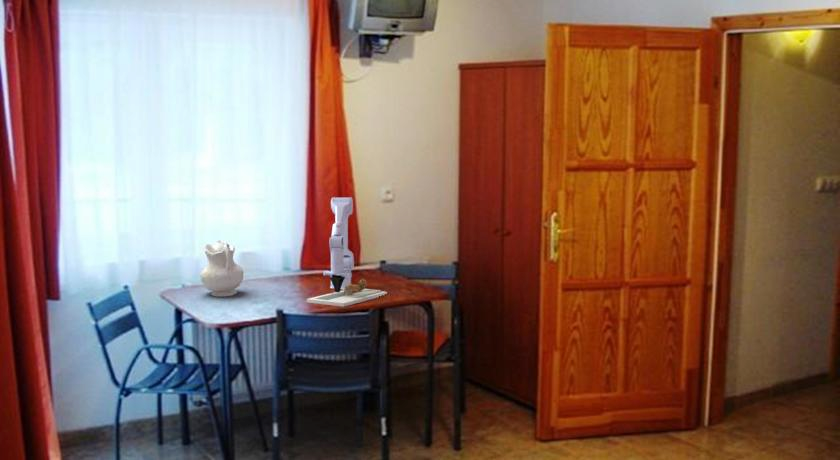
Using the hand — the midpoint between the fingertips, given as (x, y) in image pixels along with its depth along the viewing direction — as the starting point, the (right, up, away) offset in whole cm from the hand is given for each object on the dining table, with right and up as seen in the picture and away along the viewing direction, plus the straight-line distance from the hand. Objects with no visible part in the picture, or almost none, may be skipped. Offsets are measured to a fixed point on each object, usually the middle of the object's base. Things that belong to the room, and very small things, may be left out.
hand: (337, 292), depth 362 cm
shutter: (+12, -1, +3) cm, 12 cm away
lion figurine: (+7, -3, +9) cm, 11 cm away
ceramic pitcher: (-53, -2, +8) cm, 54 cm away
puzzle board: (+5, -3, +1) cm, 6 cm away
